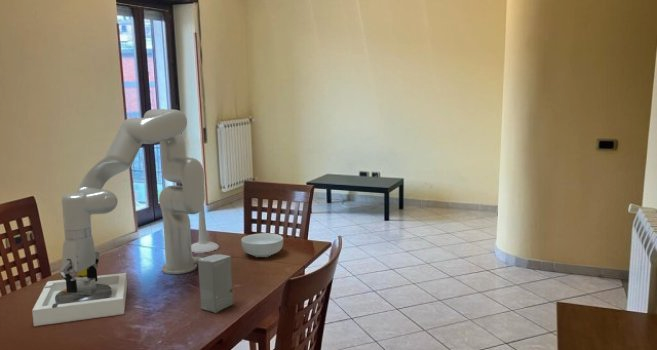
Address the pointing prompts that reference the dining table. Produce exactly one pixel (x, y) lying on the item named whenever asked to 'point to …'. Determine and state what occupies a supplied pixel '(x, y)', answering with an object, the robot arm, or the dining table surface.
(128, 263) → the dining table surface
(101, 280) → the dial housing
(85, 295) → the dial
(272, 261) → the dining table surface
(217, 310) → the skincare box
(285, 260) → the dining table surface
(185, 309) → the dining table surface
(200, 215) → the candlestick
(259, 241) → the cereal bowl
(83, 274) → the lemon
